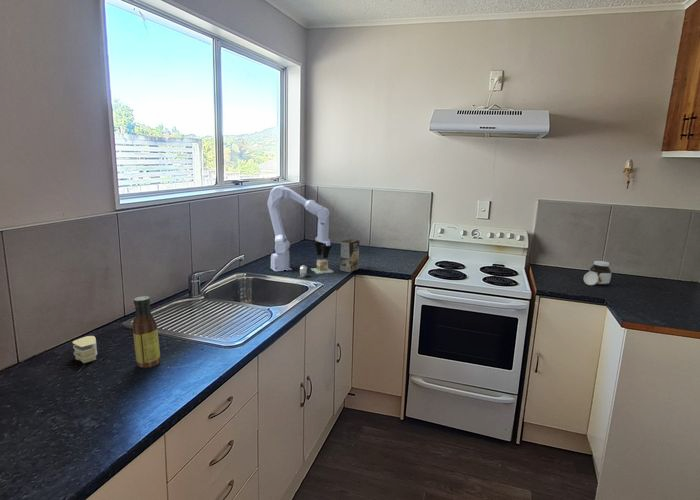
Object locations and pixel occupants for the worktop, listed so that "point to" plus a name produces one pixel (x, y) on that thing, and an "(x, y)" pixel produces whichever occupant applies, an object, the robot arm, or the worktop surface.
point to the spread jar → (598, 274)
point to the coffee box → (349, 255)
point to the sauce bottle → (145, 334)
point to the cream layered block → (85, 349)
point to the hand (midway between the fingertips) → (322, 256)
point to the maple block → (322, 265)
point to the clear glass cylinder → (303, 271)
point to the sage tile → (322, 271)
